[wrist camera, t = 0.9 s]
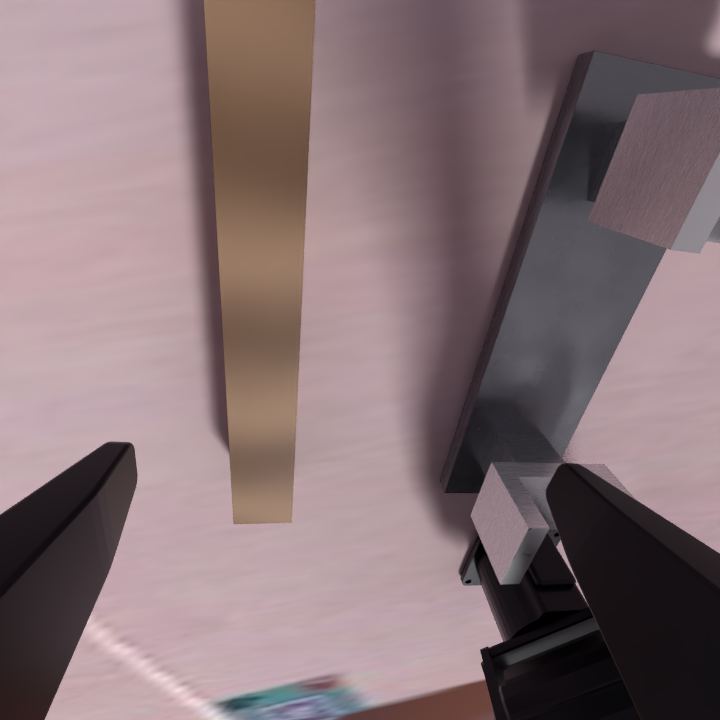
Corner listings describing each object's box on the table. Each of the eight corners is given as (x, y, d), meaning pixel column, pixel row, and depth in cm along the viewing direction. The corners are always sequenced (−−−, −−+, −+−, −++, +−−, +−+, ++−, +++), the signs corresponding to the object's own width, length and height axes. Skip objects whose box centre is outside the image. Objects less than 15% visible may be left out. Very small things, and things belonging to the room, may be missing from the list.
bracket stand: (535, 482, 28) (611, 597, 21) (439, 481, 27) (487, 603, 20) (726, 87, 17) (1008, 63, 10) (578, 55, 16) (787, 2, 9)
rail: (292, 468, 25) (291, 522, 22) (242, 468, 25) (233, 524, 21) (312, 15, 15) (316, -18, 11) (225, 0, 14) (201, -39, 11)
